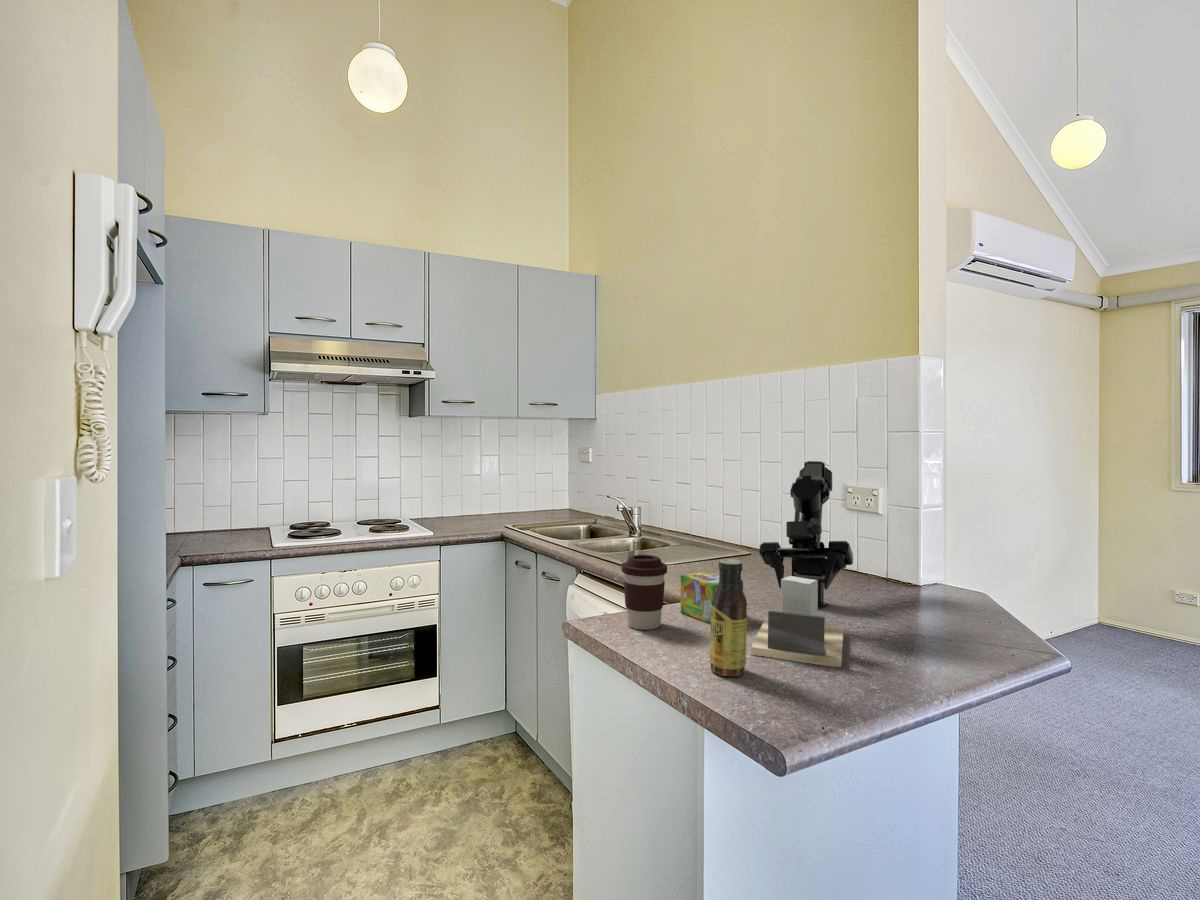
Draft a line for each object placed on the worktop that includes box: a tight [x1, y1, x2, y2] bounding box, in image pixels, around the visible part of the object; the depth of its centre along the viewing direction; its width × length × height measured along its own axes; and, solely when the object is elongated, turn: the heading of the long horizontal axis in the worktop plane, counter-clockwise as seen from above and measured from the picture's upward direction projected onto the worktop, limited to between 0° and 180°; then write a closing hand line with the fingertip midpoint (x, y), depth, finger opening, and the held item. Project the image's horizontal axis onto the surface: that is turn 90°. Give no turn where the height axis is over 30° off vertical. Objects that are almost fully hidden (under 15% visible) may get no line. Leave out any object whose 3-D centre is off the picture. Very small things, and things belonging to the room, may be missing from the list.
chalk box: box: [680, 570, 744, 625], centre depth 140 cm, size 9×9×15 cm
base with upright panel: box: [750, 610, 844, 669], centre depth 123 cm, size 20×16×8 cm
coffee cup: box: [621, 554, 668, 631], centre depth 134 cm, size 10×10×15 cm
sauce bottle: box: [709, 558, 748, 678], centre depth 108 cm, size 7×6×20 cm
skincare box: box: [780, 575, 819, 616], centre depth 121 cm, size 6×4×12 cm
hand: (802, 588), depth 129 cm, fingers open, 9 cm apart
